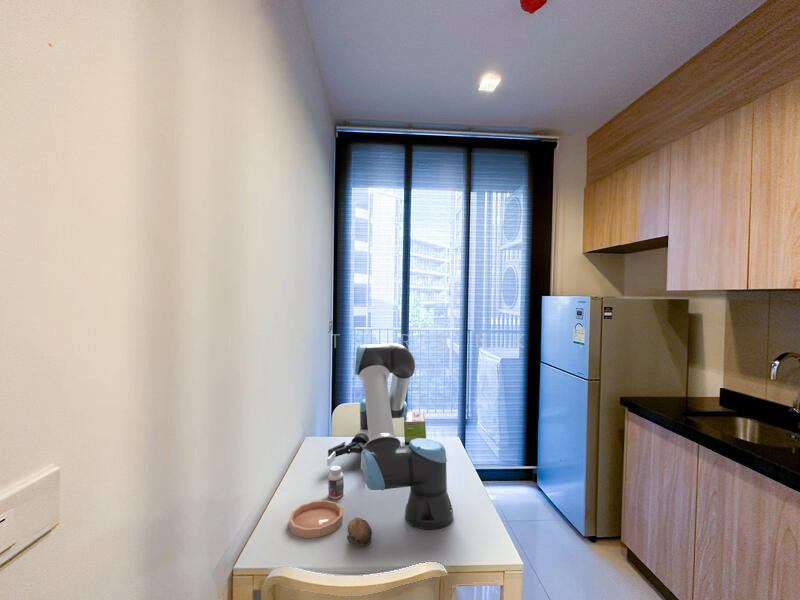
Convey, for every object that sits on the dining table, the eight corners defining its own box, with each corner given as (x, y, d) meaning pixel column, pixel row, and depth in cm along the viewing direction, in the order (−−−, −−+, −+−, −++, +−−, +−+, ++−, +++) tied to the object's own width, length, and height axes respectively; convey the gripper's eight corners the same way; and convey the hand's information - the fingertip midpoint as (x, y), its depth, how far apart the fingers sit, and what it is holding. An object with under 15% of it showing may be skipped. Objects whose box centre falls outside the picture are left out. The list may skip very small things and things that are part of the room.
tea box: (405, 441, 183) (404, 411, 183) (425, 440, 182) (424, 410, 182) (404, 453, 168) (403, 421, 168) (426, 453, 167) (425, 420, 167)
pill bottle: (325, 496, 131) (324, 468, 131) (337, 490, 135) (336, 463, 135) (335, 501, 127) (334, 472, 128) (346, 494, 132) (346, 467, 132)
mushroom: (336, 531, 105) (349, 513, 105) (353, 529, 111) (365, 512, 111) (350, 557, 99) (364, 538, 99) (368, 552, 106) (381, 535, 106)
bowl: (351, 524, 113) (351, 516, 114) (301, 544, 104) (301, 536, 104) (329, 502, 126) (329, 495, 127) (282, 518, 117) (282, 511, 117)
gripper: (389, 452, 160) (376, 476, 139) (335, 447, 165) (314, 470, 144) (389, 435, 160) (375, 457, 139) (335, 431, 165) (314, 451, 144)
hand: (344, 464), depth 141 cm, fingers open, 13 cm apart
